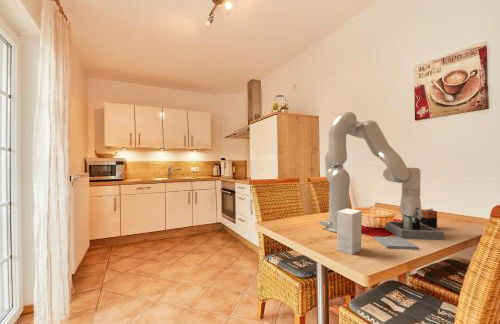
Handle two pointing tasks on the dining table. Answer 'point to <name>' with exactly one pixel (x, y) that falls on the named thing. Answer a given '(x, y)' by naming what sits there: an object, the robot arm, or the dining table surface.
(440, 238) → the grey square frame
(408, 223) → the green box
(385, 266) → the dining table surface
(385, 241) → the mat
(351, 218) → the skincare box
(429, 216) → the battery
